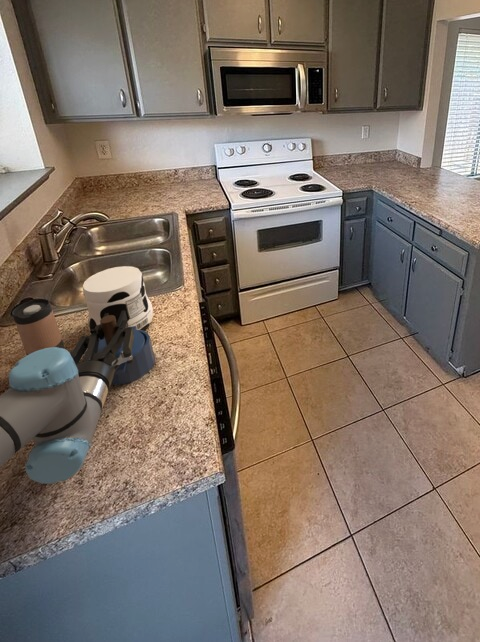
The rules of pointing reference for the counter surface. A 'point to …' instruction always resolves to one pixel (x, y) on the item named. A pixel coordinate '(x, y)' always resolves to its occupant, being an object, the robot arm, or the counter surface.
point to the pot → (136, 363)
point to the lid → (109, 331)
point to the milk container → (118, 297)
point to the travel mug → (37, 326)
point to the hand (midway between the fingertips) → (116, 316)
